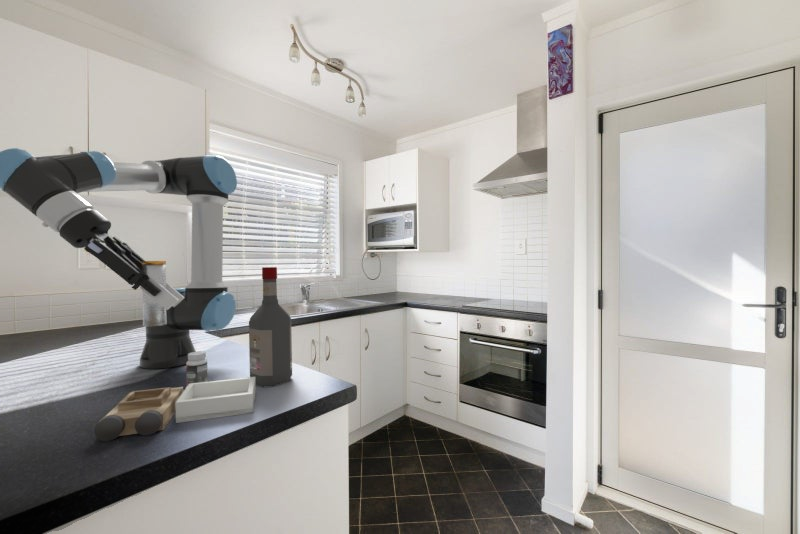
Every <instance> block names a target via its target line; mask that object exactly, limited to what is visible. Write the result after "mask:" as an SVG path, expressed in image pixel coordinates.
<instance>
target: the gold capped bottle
mask: <svg viewBox="0 0 800 534" xmlns="http://www.w3.org/2000/svg"><path fill="white" fill-rule="evenodd" d="M166 265H167V261H166V260H145V261H142V271H143V272H144V273H145V274H146V275H148V277H149V279H150V278H153V279H155V280H156V281H157V282H158V283H159V284H161V285H162V286H163V287H164V288H165V289H166V282H167V274H166V273H167V272H166V271H167V267H166ZM149 279H148V280H149ZM141 290H142V289H141ZM141 292H142V296H141V297H142V327H145V328H146V327H151V326H161V325H166V324H167V315H166V309H165V308H164V307H163V306H162V305H160V304H159V303H158V302H157V301H155V300H154V299H153V298H152V297H151V296H149V295H148V294H147V293H146V292H144V291H143V290H142V291H141Z"/></svg>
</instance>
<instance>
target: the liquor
mask: <svg viewBox="0 0 800 534" xmlns="http://www.w3.org/2000/svg"><path fill="white" fill-rule="evenodd" d="M261 273H262V274H261V276H262V277H261V278H262V301H261V305H260V306H259V307H258V308H257V310H255V311H254V312H253V314H251V317H250V319H249V322H248V338H249V339H248V340H249V341H248V342H249V343H248V344H249V345H248V347H249V348H248V349H249V350H248V351H249V352H248V355H249V377H255V380H256V384H257V385H256V386H258V385H259V387H261V386H262V387H261V388H265V387H264V386H271V387H275V385H276V386H278V384H279V385H282V384H285V383H288V382H290V380H291V378H292V376H293V349H292V348H293V340H292V337H293V335H292V317H291V315H290V314H289V313H288V312H287V310H286V309H284V307H282V305H280V303H279V300H278V289H277V288H278V287H277V286H278V285H277V284H278V283H277V281H278V280H277V279H278V267H277V266H276V267H275V266H273V267H271V266H269V267H268V266H267V267H266V266H265V267H262V268H261ZM287 381H288V382H287ZM284 382H285V383H284ZM281 383H282V384H281Z"/></svg>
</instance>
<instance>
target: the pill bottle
mask: <svg viewBox="0 0 800 534" xmlns="http://www.w3.org/2000/svg"><path fill="white" fill-rule="evenodd" d="M206 357H207V353H206V351H202V350H200V351H199V350H198V351H196V352H192V353H189V354H188V360H189V361H187V363H186V364H185V373H186V375H185V376H186V378H185V379H186V383H185V384H186V387H187V386H188V384H190V383H200V382H209V381H208V360H207V358H206Z"/></svg>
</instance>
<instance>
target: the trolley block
mask: <svg viewBox="0 0 800 534" xmlns="http://www.w3.org/2000/svg"><path fill="white" fill-rule="evenodd" d="M183 391H184V386H179V387H171V386H170V387H168V386H167V387H161V388H152V389H151V388H150V389H141V390H133V391H132V390H131V392H129V393H128V394H127V395H126V396H125V397H124V398H123V399H121V400H120V401H119V402H118V403H117V405H116V406H114V408H112V409H111V410H110V411H109V412H108V413H107V414H105V415H104V416H103V417H102V418H101V419H100V420H99V421H98V422H97V424H96V425H95V427H94V430H93V435H94V436H95V437H96V438H97V439H98V440H99V441H103V442H110V441H113V440H115V439H117V438H118V437H121V436H129V435H130V436H131V435H136V434H139V435H141V436H150V435H153V434H155V433H157V432H158V431H163V430H165V428H166V426H167V425H168V424H169V422H170V420H171V419H172V417H174V415H175V414H176V408H175V403H176V401H177V400H178V398H179V397H180V396H181V394H182V393H183Z"/></svg>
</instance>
